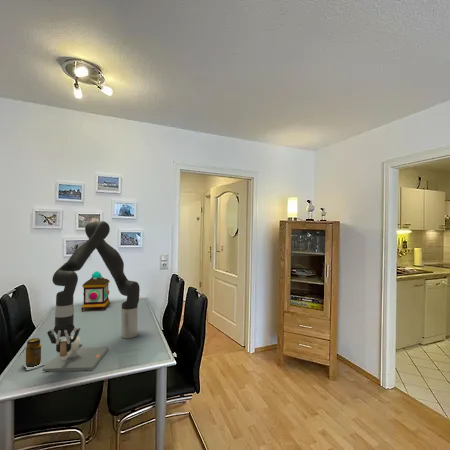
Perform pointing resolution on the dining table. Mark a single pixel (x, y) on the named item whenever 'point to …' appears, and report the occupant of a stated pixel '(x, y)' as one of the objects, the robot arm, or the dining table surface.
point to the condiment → (33, 352)
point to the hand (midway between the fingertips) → (63, 351)
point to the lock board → (78, 360)
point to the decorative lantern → (96, 292)
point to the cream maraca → (74, 347)
